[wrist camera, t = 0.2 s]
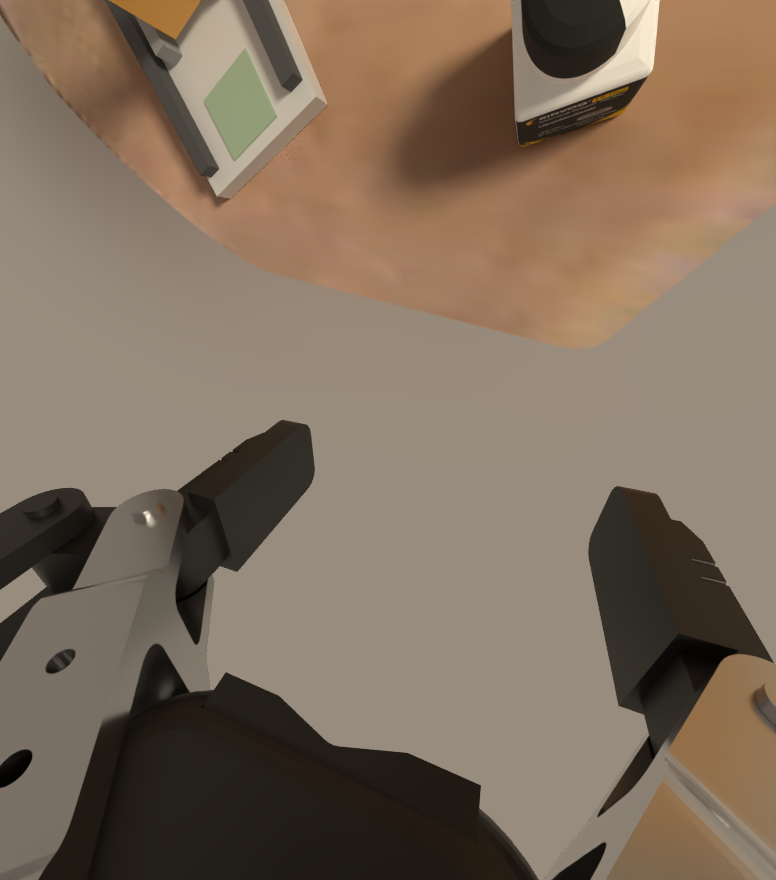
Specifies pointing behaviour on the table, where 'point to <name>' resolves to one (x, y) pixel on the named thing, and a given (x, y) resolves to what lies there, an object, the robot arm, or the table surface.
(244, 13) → the breaker panel
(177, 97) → the dark grey mounting rails
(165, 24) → the lever
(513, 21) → the medicine bottle
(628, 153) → the table surface
